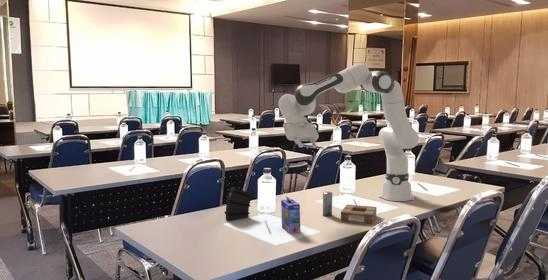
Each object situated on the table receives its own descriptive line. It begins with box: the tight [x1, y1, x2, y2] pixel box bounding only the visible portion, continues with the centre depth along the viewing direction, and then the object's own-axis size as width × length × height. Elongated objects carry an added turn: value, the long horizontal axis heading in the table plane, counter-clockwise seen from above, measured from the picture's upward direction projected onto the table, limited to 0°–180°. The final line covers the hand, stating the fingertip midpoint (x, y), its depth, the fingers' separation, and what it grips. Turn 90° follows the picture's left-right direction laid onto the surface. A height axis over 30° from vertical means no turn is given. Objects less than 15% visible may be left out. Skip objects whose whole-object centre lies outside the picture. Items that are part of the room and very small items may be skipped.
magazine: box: [224, 186, 254, 222], centre depth 211 cm, size 4×13×15 cm, turn 122°
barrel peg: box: [322, 191, 333, 218], centre depth 214 cm, size 4×4×11 cm
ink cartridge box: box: [280, 196, 301, 234], centre depth 193 cm, size 10×6×14 cm, turn 18°
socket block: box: [340, 204, 377, 226], centre depth 208 cm, size 14×14×4 cm
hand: (308, 147), depth 216 cm, fingers open, 8 cm apart
